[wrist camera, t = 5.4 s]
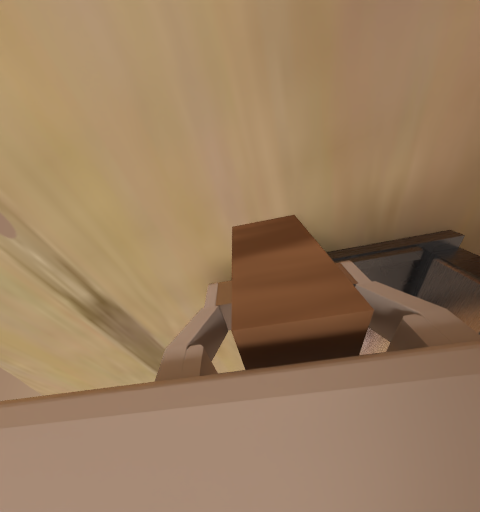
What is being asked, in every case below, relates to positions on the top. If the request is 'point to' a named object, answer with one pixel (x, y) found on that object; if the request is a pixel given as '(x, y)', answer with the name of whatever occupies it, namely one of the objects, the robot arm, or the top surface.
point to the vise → (424, 270)
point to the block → (291, 298)
